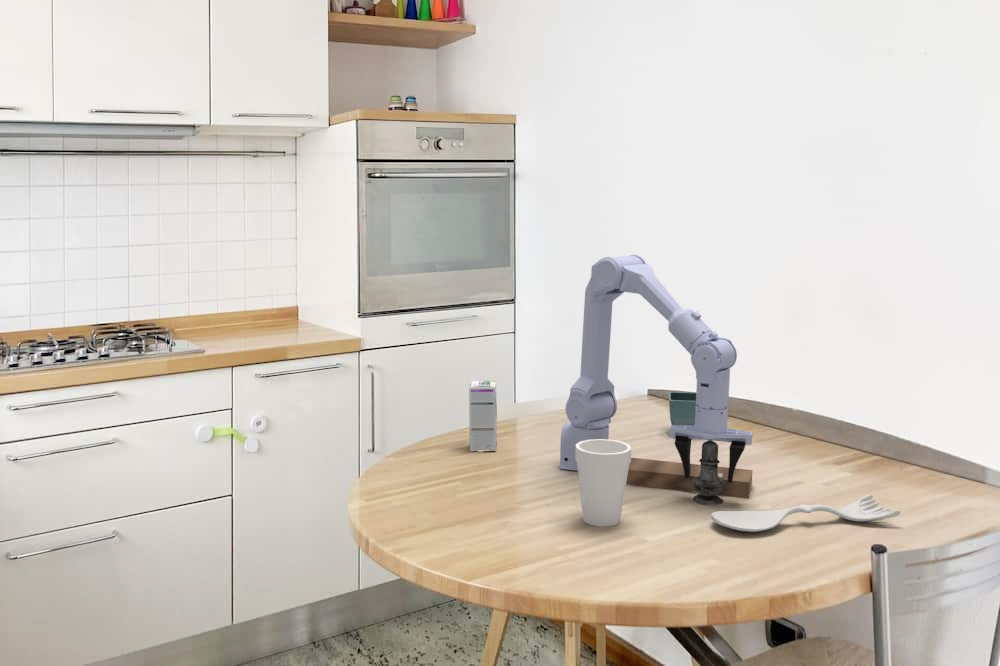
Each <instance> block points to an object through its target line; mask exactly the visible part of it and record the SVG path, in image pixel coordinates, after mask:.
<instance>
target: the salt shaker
mask: <svg viewBox="0 0 1000 666" xmlns="http://www.w3.org/2000/svg"><path fill="white" fill-rule="evenodd" d="M718 457H719V445H718V443H717V442H716V441H712V440H705V441H704V442H703V443H702V444H701V458H700V459H699V461H698V462H700V465H701V471H700V475H699V476H698V477H695V478H693V479H692V482H693V483H694V488H695V490H696V491H697V492H696V493H697V494H696V495H695V496H693V497H692V500H693V501H694V502H695V503H698V504H702V505H708V506H714V505H715V506H717V505H720V504H722V503H723V499H722V497H720V495H718V494H719V493H720V492H721V491H722V489H723V485H724V484H725V481H724V480H722V479H720V478H719V477H718V467H719V464H720V463H721V462H720V460H719V458H718Z"/></svg>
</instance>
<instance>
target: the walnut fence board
mask: <svg viewBox="0 0 1000 666" xmlns="http://www.w3.org/2000/svg"><path fill="white" fill-rule="evenodd" d="M700 471H701V464H696V463H690V476H689V478H685V474H684V468H683V464H682V462H677V461H668V460H656V459H648V458H638V457H631V463H629V469H628V475H627V481H626V485H629V486H630V485H631V486H639V487H648V488H654V489H655V488H656V489H665V490H675V491H683V492H691V493H692V492H693V493H698V492H697V491H696V490H695V488H694V483H693V482H692V479H693V478H695V477H698V476H699V475H700ZM728 472H729V467H727V466H726V467H724V466H718V477H719V478H720V479H722V480H724V481H725V484H724V485H723V489H722V491H721V492H720V493H719V494H718V495H717V496H726V497H727V496H728V497H736V498H744V499H749V497H750V493H751V489H752V486H753V485H752V484H753V470H752V469H743V468H736V467H735V470H734V474H733V480H732V483H729V482H728Z"/></svg>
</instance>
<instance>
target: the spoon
mask: <svg viewBox="0 0 1000 666" xmlns="http://www.w3.org/2000/svg"><path fill="white" fill-rule="evenodd" d="M873 498H874V497H873V494H867V495H864V496H863V497H861V498H859V499H857V500H855V501H853V502H852V503H849V504H846V505H844V506H842V508H840V509H837V508H834V507H832V506H830V505H825V504H803V503H802V504H801V503H800V504H799V505H796V506H792V507H787V508H783V509H777V510H776V509H775V510H719V511H714V512H712V513H711V519H712V520H713V522H714V523H716V524H717V525H719V526H722V527H724V528H728V529H731V530H736V531H738V532H739V531H740V532H749V533H756V532H757V533H758V532H763V531H767V530H771V529H774V528H775V527H777V526H778V525H779V524H780V523H781V522H782V521H783V520H784V519H785V518H786V517H788V516H790V515H792V514H797V513H804V514H805V513H806V514H811V513H813V512H827V513H831V514H833V515H835V516H837V517H839V518H842V519H845V520H847V521H853V522H868V521H876V520H883V519H884V520H885V519H890V518H895V517H898V516H900V514H901V510H899V509H898V510H894V509H893V510H892V509H891V510H890V508H884V506H878V505H879V502H876V499H873Z"/></svg>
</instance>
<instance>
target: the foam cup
mask: <svg viewBox="0 0 1000 666" xmlns="http://www.w3.org/2000/svg"><path fill="white" fill-rule="evenodd" d="M631 447H632V446H631V445H630V444H628V443H626V442H625V441H621V440H620V441H619V440H616V439H608V440H606V439H592V440H585V441H581V442H579V443H577V444H576V453H575V458H576V462H577V467H578V471H577V474H578V475H577V476H578V485H579V493H580V504H581V511H582V513H581V514H582V520H583V522H584V523H586V524H587V525H590V526H594V527H601V528H602V527H613V526H617V525H618V524H619V523H620V519H621V516H622V511H623V505H624V499H625V498H624V497H625V492H626V486H627V484H626V481H627V475H628V469H629V463H631V458H632V448H631Z"/></svg>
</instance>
